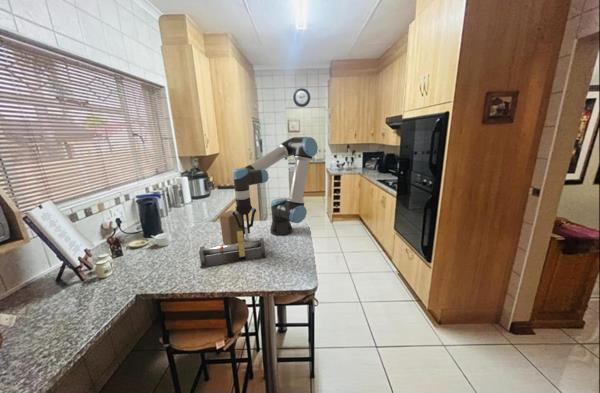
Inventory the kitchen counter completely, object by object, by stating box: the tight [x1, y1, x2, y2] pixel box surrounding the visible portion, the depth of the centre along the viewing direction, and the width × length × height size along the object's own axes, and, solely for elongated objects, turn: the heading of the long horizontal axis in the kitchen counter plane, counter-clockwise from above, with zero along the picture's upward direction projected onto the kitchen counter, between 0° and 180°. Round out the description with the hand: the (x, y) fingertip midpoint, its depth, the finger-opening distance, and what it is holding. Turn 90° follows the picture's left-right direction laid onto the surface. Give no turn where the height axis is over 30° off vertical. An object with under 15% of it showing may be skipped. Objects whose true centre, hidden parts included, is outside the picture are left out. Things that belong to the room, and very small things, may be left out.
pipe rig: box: [198, 237, 267, 269], centre depth 136 cm, size 34×12×8 cm, turn 105°
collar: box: [237, 231, 245, 257], centre depth 137 cm, size 3×8×12 cm, turn 15°
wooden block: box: [219, 209, 246, 245], centre depth 154 cm, size 10×10×20 cm
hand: (247, 238), depth 137 cm, fingers closed
